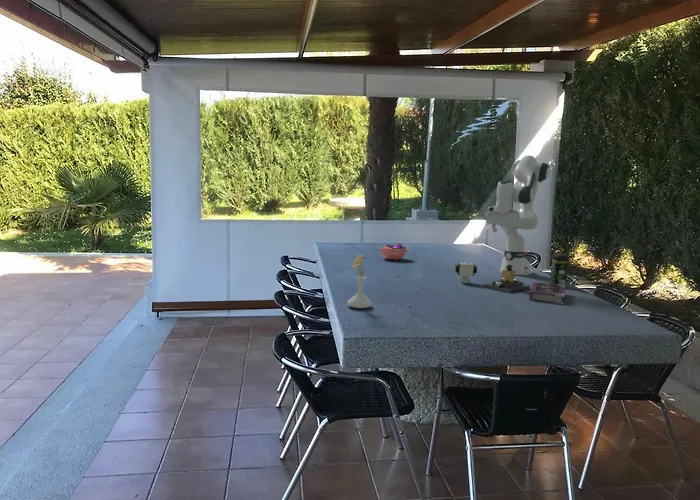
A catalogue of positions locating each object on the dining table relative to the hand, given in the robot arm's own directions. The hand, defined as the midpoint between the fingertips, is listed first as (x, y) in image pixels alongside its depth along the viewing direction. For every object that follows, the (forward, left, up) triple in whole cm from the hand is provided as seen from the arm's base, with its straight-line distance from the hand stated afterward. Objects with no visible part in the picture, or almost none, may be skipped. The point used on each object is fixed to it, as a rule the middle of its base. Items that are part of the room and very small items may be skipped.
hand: (501, 233), depth 328 cm
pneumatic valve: (+19, -9, -28) cm, 35 cm away
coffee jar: (-22, +25, -29) cm, 44 cm away
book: (+9, +37, -29) cm, 48 cm away
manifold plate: (+10, +13, -28) cm, 33 cm away
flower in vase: (+108, 0, -29) cm, 111 cm away
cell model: (+1, -83, -29) cm, 88 cm away
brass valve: (+10, +13, -26) cm, 31 cm away
